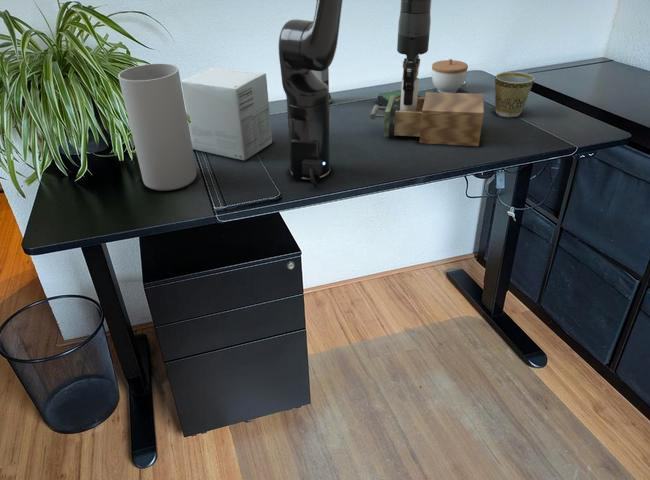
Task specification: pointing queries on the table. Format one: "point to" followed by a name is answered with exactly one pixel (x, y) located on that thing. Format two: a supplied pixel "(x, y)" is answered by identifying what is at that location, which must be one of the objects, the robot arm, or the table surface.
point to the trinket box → (448, 75)
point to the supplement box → (228, 112)
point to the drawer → (400, 118)
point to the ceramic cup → (511, 92)
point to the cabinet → (452, 118)
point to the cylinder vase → (159, 125)
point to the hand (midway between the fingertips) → (408, 101)
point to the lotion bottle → (415, 94)
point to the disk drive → (385, 98)
